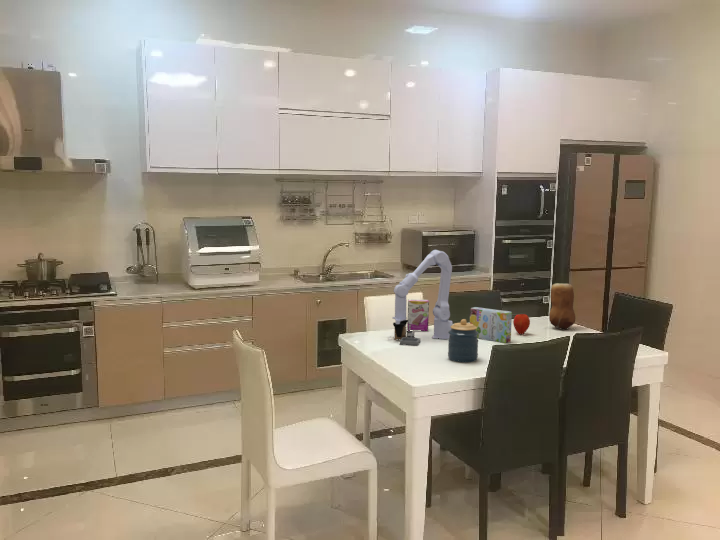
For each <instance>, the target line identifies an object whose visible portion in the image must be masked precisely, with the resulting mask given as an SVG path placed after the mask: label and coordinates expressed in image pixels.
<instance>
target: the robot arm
mask: <svg viewBox="0 0 720 540" xmlns="http://www.w3.org/2000/svg"><path fill="white" fill-rule="evenodd" d="M436 265H437V266H438V267H439V268H440V271H441V272H440V279H439V284H438V285H439V286H438V294H437V301H436V302H435V305H434V307H433V309H432V314H433V316H434V319H433V335H432V337H431V338H432V339H438V338H439V339H441V340H448V339H449V336H450V334H449V333H448V332H449V331H450V330H451V326H452V325H453V324H454V322H453V320H449V319H450V317H451V312H450V304H449V295H450V288H451V280H452V274H453V273H452V271H453V264H452V262H451V260H450V257H449V255H448V254H447V253H446V252H445V251H443V250H438V249H433V250H432V251H430V253H429V254H427V255H426V257H424V260H422V261H421V263H420V264H419V265H418V266H417V267H416V269H415V270H414V271H413V272H409V273H406V274H405V277H404V278H403V279H402V280H401V281H399V283H398V284H396V285H395V286H394V289H393V292H394V294H395V297H394V316H392V319H393V320H395V322H392V325H393V327H394V331H395V330H396V335H397V337H401V336H402V330H403V327H407V323H408V316H407V304H408V299H407V296H408V295H409V292H410V290H411V289H412V288H413V287H414V286H415V285H416V284H417V282H418V281H419V277H420V276H421V275H422V274H423V273H425V271H426V270H427V269H428V268H429V267H431V266H436ZM439 339H438V340H439Z"/></svg>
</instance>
